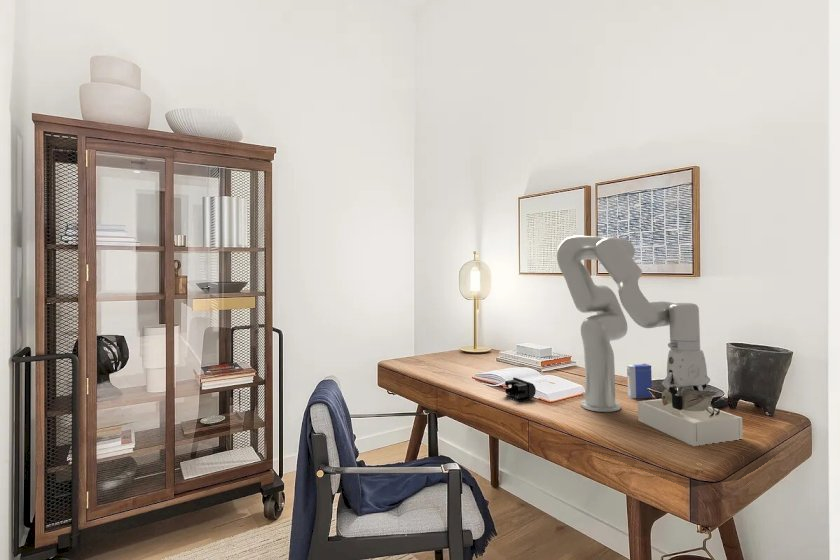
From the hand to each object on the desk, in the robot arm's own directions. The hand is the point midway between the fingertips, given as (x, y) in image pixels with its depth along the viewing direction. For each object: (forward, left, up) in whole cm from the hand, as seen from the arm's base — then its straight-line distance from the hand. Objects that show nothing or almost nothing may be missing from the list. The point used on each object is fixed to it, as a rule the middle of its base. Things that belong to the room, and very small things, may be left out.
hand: (687, 407), depth 132 cm
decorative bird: (+1, 0, -1) cm, 2 cm away
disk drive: (-19, +22, -7) cm, 30 cm away
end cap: (-46, -32, -7) cm, 56 cm away
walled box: (0, 0, -7) cm, 7 cm away
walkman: (-33, +9, -7) cm, 35 cm away
